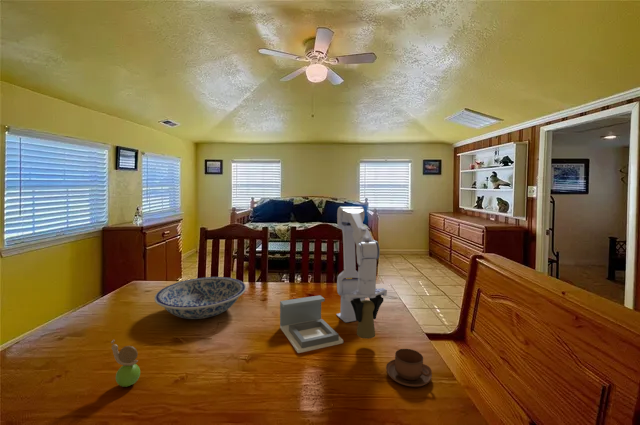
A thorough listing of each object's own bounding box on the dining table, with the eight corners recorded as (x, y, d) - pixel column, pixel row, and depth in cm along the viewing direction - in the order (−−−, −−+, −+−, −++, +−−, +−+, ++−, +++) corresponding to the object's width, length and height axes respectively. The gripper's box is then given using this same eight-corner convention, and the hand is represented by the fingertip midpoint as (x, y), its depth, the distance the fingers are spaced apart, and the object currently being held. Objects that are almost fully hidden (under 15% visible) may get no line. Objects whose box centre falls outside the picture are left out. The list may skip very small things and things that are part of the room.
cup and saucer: (431, 369, 89) (432, 348, 88) (431, 396, 77) (432, 372, 77) (388, 361, 93) (389, 341, 92) (383, 385, 81) (383, 363, 81)
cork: (375, 339, 97) (375, 304, 97) (355, 337, 98) (356, 303, 98) (375, 331, 103) (376, 298, 103) (357, 329, 104) (357, 297, 104)
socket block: (319, 320, 120) (320, 295, 119) (343, 343, 103) (343, 313, 102) (280, 327, 113) (280, 301, 113) (297, 353, 96) (298, 322, 95)
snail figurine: (119, 378, 82) (117, 335, 82) (144, 377, 83) (143, 334, 82) (107, 392, 77) (105, 345, 76) (134, 391, 78) (132, 345, 77)
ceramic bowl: (134, 322, 117) (133, 296, 116) (200, 293, 148) (200, 273, 147) (205, 340, 104) (205, 311, 103) (262, 304, 135) (262, 282, 135)
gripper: (353, 284, 93) (352, 328, 94) (393, 279, 99) (391, 320, 100) (342, 278, 100) (341, 319, 101) (380, 273, 105) (378, 312, 107)
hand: (365, 319), depth 101 cm, fingers closed on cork, 5 cm apart
